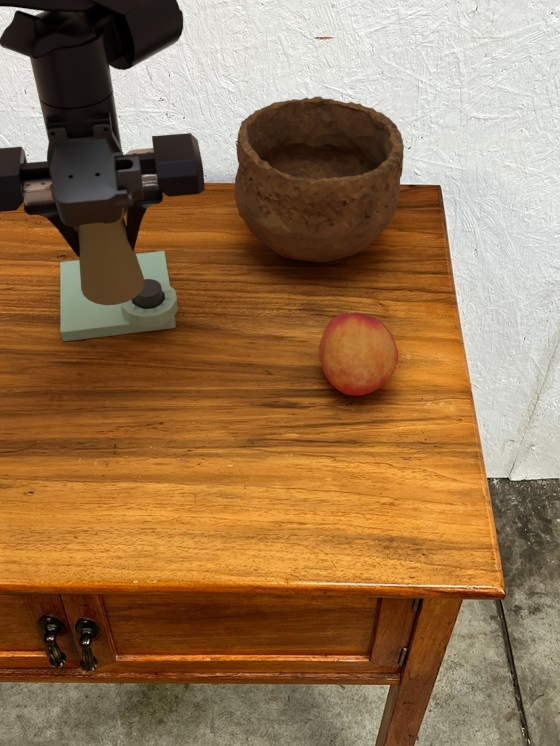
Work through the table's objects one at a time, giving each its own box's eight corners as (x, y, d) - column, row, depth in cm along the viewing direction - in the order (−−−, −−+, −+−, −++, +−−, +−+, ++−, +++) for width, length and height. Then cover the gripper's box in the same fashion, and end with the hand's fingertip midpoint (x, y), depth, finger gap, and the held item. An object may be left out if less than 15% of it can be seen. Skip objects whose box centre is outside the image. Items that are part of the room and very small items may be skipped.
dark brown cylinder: (135, 311, 82) (133, 298, 80) (133, 292, 84) (131, 280, 82) (164, 307, 82) (162, 295, 81) (161, 289, 84) (159, 277, 83)
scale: (62, 347, 82) (57, 327, 79) (62, 271, 90) (57, 250, 88) (181, 333, 83) (178, 312, 81) (169, 259, 92) (167, 239, 90)
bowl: (391, 205, 100) (406, 96, 90) (390, 300, 88) (408, 186, 77) (247, 195, 102) (245, 86, 91) (225, 287, 89) (220, 172, 78)
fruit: (402, 365, 81) (413, 307, 75) (379, 419, 75) (389, 362, 70) (330, 344, 82) (336, 286, 77) (303, 396, 77) (307, 338, 71)
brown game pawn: (115, 256, 78) (97, 159, 70) (157, 281, 75) (143, 183, 67) (67, 286, 74) (42, 188, 66) (110, 314, 72) (89, 214, 64)
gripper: (-62, 155, 54) (-5, 321, 65) (206, 134, 56) (216, 297, 68) (-45, 81, 61) (4, 241, 73) (191, 65, 64) (202, 222, 75)
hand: (105, 251), depth 72 cm, fingers closed on brown game pawn, 4 cm apart
